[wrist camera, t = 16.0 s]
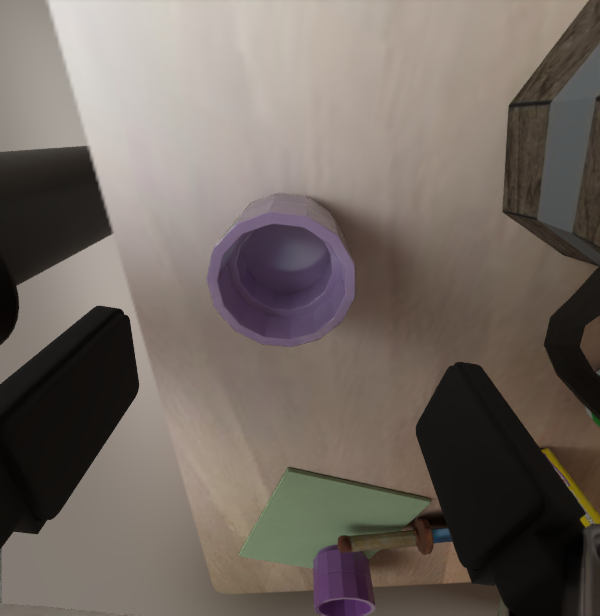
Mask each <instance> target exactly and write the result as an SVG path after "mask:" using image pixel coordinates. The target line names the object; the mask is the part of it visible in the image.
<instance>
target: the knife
mask: <svg viewBox="0 0 600 616" xmlns="http://www.w3.org/2000/svg"><path fill="white" fill-rule="evenodd" d="M441 542H452V538H451V535H450V532H449V529H448V527H447V528H436V529H432V528H431V526H430V524H429V522H428V520H426V519H423V518H418V519H417V520H415V522H414V530H408V531H398V532H387V533H376V534H365V535H355V536H347V535H342V536H340V537H339V538H338V544H337V547H338V550H339V552H341V553H348V552H359V551H370V550H381V549H391V548H402V547H412V546H417V547H418V550H419V551H420V552H421V553H422V554H424V555H425V554H430V553H431V552H432V549H433V543H441Z"/></svg>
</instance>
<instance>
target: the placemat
mask: <svg viewBox="0 0 600 616" xmlns="http://www.w3.org/2000/svg"><path fill="white" fill-rule="evenodd" d="M430 503H431V500H430V499H429V498H425V497H420V496H416V495H411V494H407V493H402V492H397V491H393V490H388V489H384V488H379V487H375V486H370V485H365V484H361V483H356V482H352V481H347V480H343V479H338V478H333V477H329V476H324V475H320V474H315V473H311V472H306V471H302V470H297V469H292V468H287V470H286V472H285V473H284V475H283V477H282V479H281V480H280V482H279V484H278V486H277V488H276V489H275V491H274V493H273V495H272V496H271V498H270V500H269V502H268V503H267V505H266V507H265V509H264V510H263V512H262V514H261V516H260V518H259V519H258V521H257V523H256V525H255V526H254V528H253V530H252V532H251V533H250V535H249V537H248V539H247V540H246V542H245V544H244V546H243V548H242V549H241V551H240V553H239V556H240V557H246V558H252V559H258V560H264V561H270V562H277V563H283V564H289V565H295V566H301V567H307V568H313V559H314V558H315V557H316V556H317V553H318V552H319V551H320V550H321V549H323V548H325V547H328V546H333V545H337V544H338V538H339V537H340V536H342V535H347V536H355V535H365V534H376V533H387V532H398V531H401V530H402V529H403V528H404V527H405V526H406V525H407V524H408V523H409V522H411V521H412V520H413V519H414V518H415V517H416V516H417V515H418V514H419V513H420V512H421V511H423V510H424V509H425V508H426V507H427V506H428V505H429V504H430ZM378 551H379V550H370V551H362V552H363V554H364V555H365V556H366V557H368V560H369V559H370V558H371V557H372V556H374V555H375V554H376V553H377V552H378Z"/></svg>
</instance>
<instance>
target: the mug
mask: <svg viewBox="0 0 600 616" xmlns="http://www.w3.org/2000/svg"><path fill="white" fill-rule="evenodd" d="M503 213H505V214H506V215H508V216H509V217H510V218H512V219H513V220H515V221H516V222H517V223H519V224H520V225H522V226H523V227H525V228H526V229H527V230H529V231H530V232H532V233H533V234H534V235H536V236H537V237H539V238H540V239H541V240H543V241H544V242H546V243H547V244H548V245H550V246H551V247H553V248H554V249H556V250H557V251H558V252H560V253H561V254H563V255H565V256H568V257H572V258H575V259H578V260H582V261H585V262H588V263H592V264H595V265H598V266H599V267H598V268H597V269H596V270H595V271H594V273H593V274H592V275H591V276H590V277H589V278H588V279H587V280H586V281H585V283H584V284H583V285H582V286H581V287H580V288H579V289H578V290H577V291H576V293H575V294H574V295H573V296H572V297H571V298H570V299H569V300H568V301H567V302H566V303H564V304H563V305H562V306H561V307H560V308H559V309H558V310H557V311H556V312H555V313H554V314H553V315H552V316H551V317H550V321H549V325H548V329H547V334H546V338H545V342H544V346H545V349H546V351H547V353H548V356H549V358H550V360H551V363H552V365H553V367H554V370H555V372H556V374H557V376H558V377H559V378H560V379H561V380H562V381H563V382H564V383H565V384H566V386H567V387H568V388H569V389H570V390H571V391H572V392H573V393H574V395H575V396H576V397H577V398H578V399H579V400H580V401H581V402H582V403H583V404H584V405H585V406H586V407H587V408H588V409H589V410H590V411H591V412H592V413H593V414H594V415H595V416H596V417H597V418H598V419H599V420H600V376H599V375H598V374H597V373H596V372H594V371H593V369H592V367H591V366H590V364H589V362H588V360H587V359H586V357H585V355H584V354H583V352H582V350H581V348H580V343H581V339H582V335H583V332H584V328H585V325H587V324H588V323H589V322H591V321H592V320H594V319H595V318H597V317H598V316H599V315H600V0H589V1H588V3H587V4H586V5H585V7H584V8H583V9H582V11H581V12H580V13H579V14H578V16H577V17H576V18H575V20H574V21H573V22H572V24H571V25H570V26H569V28H568V29H567V30H566V32H565V33H564V34H563V35H562V37H561V38H560V39H559V41H558V42H557V43H556V45H555V46H554V47H553V49H552V50H551V51H550V52H549V54H548V55H547V56H546V58H545V59H544V60H543V62H542V63H541V64H540V66H539V67H538V68H537V69H536V71H535V72H534V73H533V75H532V76H531V77H530V79H529V80H528V81H527V83H526V84H525V85H524V87H523V88H522V89H521V90H520V92H519V93H518V94H517V96H516V97H515V98H514V100H513V101H512V102H511V104H510V105H509V112H508V129H507V146H506V163H505V180H504V197H503Z"/></svg>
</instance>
